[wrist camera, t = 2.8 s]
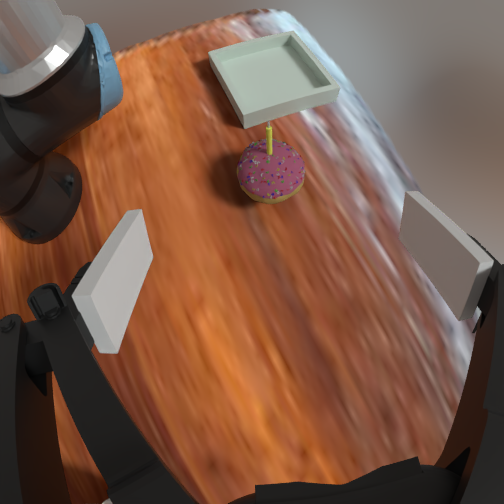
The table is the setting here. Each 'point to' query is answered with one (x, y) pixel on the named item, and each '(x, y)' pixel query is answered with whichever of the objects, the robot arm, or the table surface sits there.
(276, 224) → the table surface
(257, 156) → the cupcake
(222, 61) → the tray
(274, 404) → the table surface
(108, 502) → the decorative vase
